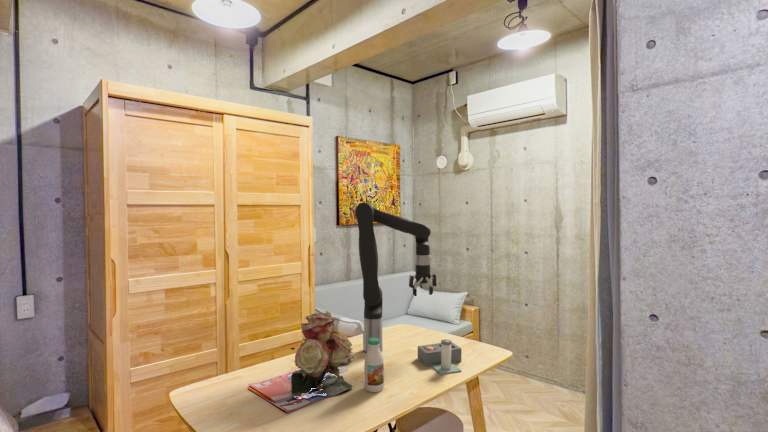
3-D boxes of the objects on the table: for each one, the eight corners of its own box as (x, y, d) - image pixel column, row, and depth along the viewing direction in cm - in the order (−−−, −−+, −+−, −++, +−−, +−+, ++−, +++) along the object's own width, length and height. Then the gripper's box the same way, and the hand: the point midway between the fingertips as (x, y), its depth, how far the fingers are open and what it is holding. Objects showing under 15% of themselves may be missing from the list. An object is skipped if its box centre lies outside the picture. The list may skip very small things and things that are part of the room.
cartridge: (444, 370, 176) (444, 343, 176) (439, 366, 180) (439, 340, 180) (453, 368, 177) (453, 342, 177) (448, 365, 182) (448, 338, 182)
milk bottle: (361, 390, 159) (360, 340, 159) (370, 382, 166) (370, 335, 165) (378, 394, 155) (377, 343, 155) (387, 386, 162) (386, 337, 162)
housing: (426, 366, 182) (426, 353, 182) (417, 358, 192) (417, 346, 192) (461, 361, 188) (461, 348, 188) (451, 353, 197) (451, 341, 197)
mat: (440, 374, 173) (440, 373, 173) (431, 366, 181) (431, 365, 181) (461, 371, 176) (461, 370, 176) (451, 363, 185) (451, 362, 185)
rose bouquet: (293, 406, 147) (292, 325, 146) (289, 374, 175) (287, 306, 174) (361, 396, 154) (360, 319, 153) (346, 367, 182) (345, 302, 181)
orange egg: (427, 362, 186) (427, 349, 186) (424, 359, 190) (424, 346, 189) (435, 361, 187) (435, 348, 187) (431, 358, 191) (431, 345, 191)
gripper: (432, 261, 210) (432, 292, 210) (407, 263, 205) (407, 294, 206) (438, 263, 202) (438, 295, 203) (412, 265, 198) (412, 297, 198)
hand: (422, 295), depth 204 cm, fingers open, 8 cm apart
